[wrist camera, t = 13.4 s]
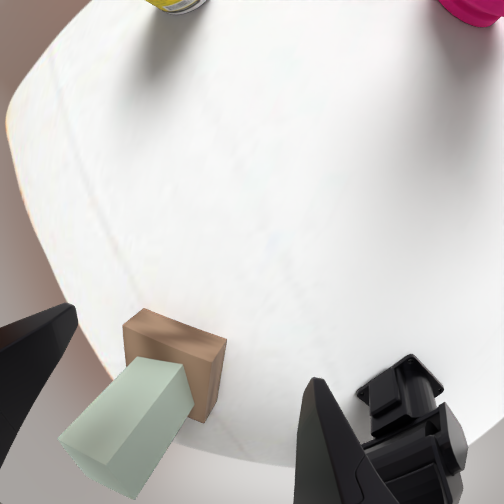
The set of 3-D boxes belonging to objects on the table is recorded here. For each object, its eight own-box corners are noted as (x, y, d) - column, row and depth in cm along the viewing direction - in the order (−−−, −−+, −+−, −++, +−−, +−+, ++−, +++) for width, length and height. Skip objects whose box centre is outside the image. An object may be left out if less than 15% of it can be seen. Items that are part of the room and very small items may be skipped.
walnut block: (228, 336, 27) (211, 362, 23) (218, 398, 30) (204, 423, 26) (145, 306, 28) (122, 325, 25) (147, 369, 32) (129, 389, 28)
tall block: (183, 364, 24) (105, 465, 13) (194, 404, 25) (134, 500, 14) (137, 356, 25) (57, 438, 14) (151, 394, 27) (86, 476, 16)
